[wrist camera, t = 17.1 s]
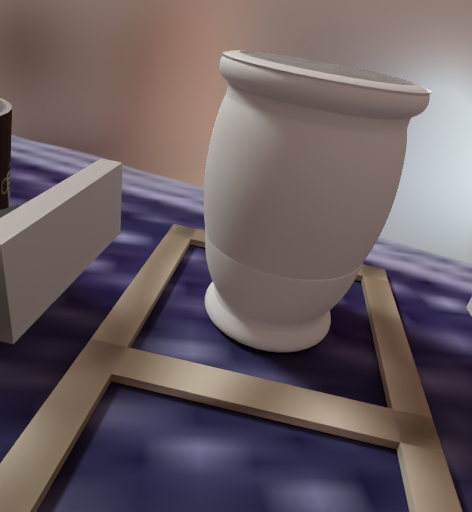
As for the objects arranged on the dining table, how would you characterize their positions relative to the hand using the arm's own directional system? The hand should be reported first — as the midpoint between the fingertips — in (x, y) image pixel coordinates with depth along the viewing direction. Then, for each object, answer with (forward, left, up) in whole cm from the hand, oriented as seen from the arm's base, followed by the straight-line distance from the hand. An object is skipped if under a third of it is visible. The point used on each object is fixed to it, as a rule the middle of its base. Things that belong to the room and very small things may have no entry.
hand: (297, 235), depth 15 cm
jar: (0, +9, -10) cm, 14 cm away
